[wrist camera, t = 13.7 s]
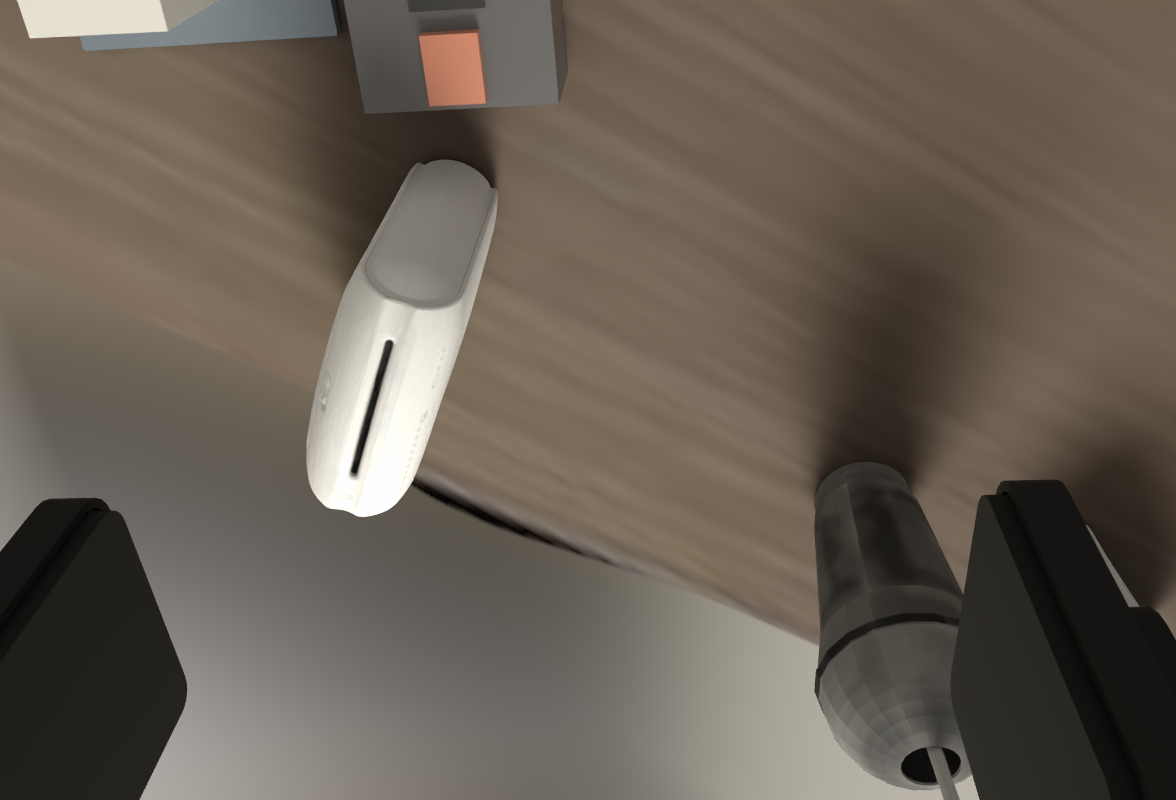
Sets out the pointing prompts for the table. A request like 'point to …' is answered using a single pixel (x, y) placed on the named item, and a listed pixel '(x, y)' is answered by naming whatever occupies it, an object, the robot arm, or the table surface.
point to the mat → (235, 25)
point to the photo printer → (398, 338)
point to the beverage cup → (887, 631)
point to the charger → (105, 16)
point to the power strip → (506, 48)
